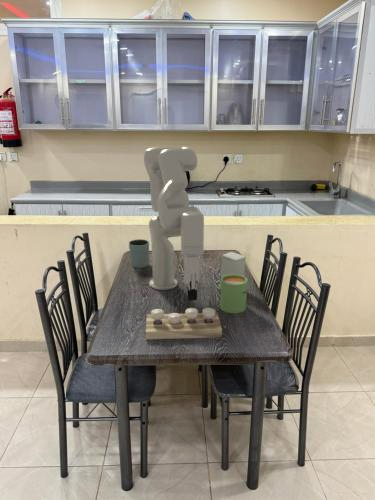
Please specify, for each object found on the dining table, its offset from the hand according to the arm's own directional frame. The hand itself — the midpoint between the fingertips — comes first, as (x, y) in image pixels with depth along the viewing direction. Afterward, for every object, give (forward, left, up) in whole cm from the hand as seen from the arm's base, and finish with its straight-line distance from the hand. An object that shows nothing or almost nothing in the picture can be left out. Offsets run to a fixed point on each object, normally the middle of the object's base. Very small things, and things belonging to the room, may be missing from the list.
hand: (192, 299), depth 137 cm
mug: (-18, +18, -12) cm, 28 cm away
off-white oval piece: (-1, -12, -10) cm, 16 cm away
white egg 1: (-1, -6, -12) cm, 13 cm away
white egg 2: (-1, 0, -10) cm, 10 cm away
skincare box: (-34, +20, -12) cm, 41 cm away
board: (-1, -3, -12) cm, 12 cm away
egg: (-1, +6, -10) cm, 11 cm away
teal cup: (-65, -22, -12) cm, 69 cm away
